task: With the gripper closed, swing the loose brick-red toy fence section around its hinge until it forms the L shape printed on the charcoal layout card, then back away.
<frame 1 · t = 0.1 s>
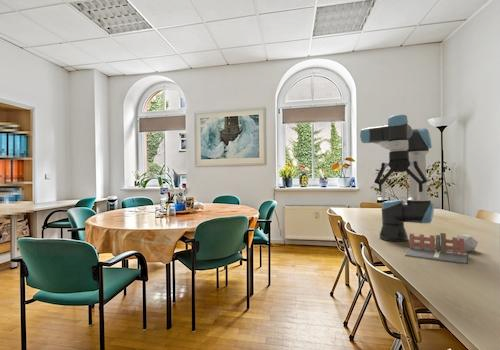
hand: (400, 199, 119), 28 cm above the table, tool pointing down, fingers open, 13 cm apart
layout card: (436, 254, 131), on the table
grey rounded lump: (466, 251, 135), on the table
fence gate: (424, 241, 137), point 5 cm above the table, hinge at -90.0°
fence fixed: (438, 252, 134), resting on layout card
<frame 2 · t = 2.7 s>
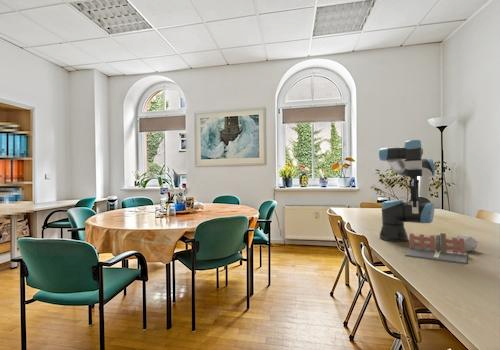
hand: (415, 213, 145), 18 cm above the table, tool pointing down, fingers closed
nothing on the table moved.
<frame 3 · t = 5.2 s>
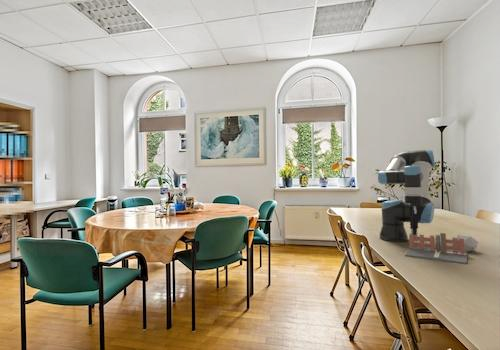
hand: (414, 240, 141), 4 cm above the table, tool pointing down, fingers closed
fence gate: (424, 241, 137), point 5 cm above the table, hinge at -84.2°, touching gripper
everything else where it was.
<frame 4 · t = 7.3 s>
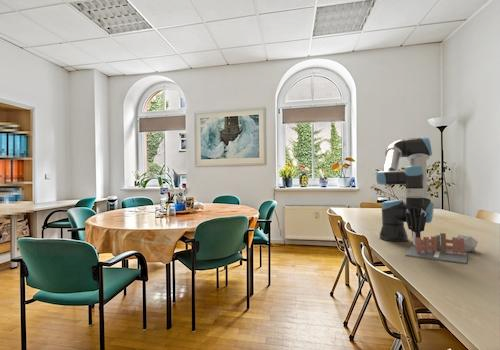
hand: (416, 244, 134), 4 cm above the table, tool pointing down, fingers closed
fence gate: (428, 243, 133), point 5 cm above the table, hinge at -39.5°, touching gripper
everything else where it was.
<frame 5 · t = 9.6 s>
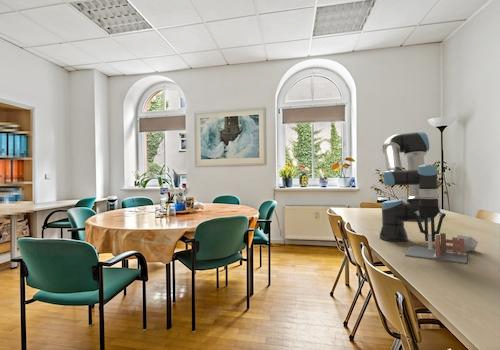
hand: (430, 248, 127), 4 cm above the table, tool pointing down, fingers closed
fence gate: (437, 245, 129), point 5 cm above the table, hinge at 3.1°, touching gripper
everything else where it was.
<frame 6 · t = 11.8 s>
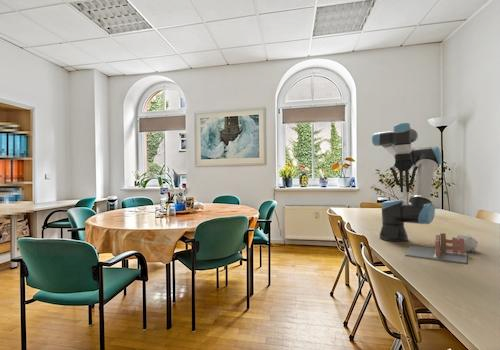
hand: (405, 198, 142), 26 cm above the table, tool pointing down, fingers closed
fence gate: (437, 245, 129), point 5 cm above the table, hinge at 3.2°
everything else where it was.
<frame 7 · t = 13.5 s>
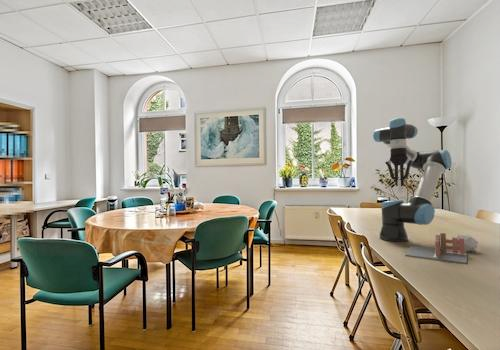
hand: (399, 192, 145), 29 cm above the table, tool pointing down, fingers closed
nothing on the table moved.
at the end: fence gate at +3° (first picture: -90°); grey rounded lump moved 0.2 cm from its start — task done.
